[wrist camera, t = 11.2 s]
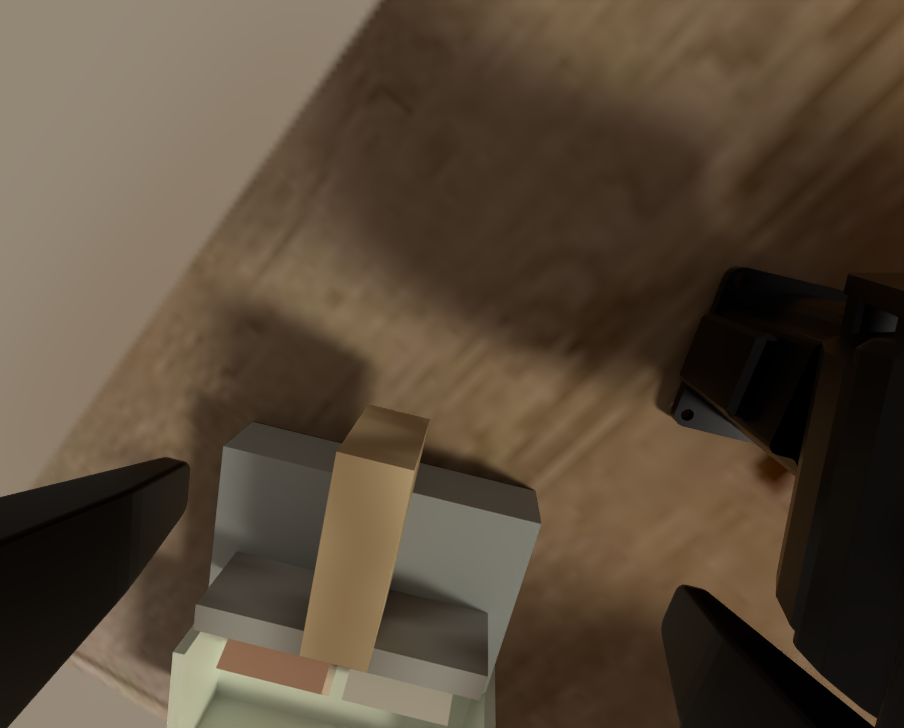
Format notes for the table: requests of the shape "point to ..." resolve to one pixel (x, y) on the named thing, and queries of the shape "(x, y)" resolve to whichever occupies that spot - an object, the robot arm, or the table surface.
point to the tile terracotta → (277, 667)
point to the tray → (284, 698)
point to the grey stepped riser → (424, 537)
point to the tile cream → (397, 697)
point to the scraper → (356, 579)
